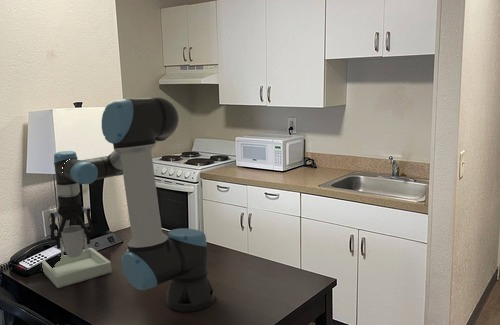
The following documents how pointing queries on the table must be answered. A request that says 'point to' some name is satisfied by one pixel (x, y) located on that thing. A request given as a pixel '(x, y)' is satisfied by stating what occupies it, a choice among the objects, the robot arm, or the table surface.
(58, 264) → the bin
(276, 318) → the table surface
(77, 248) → the cup
